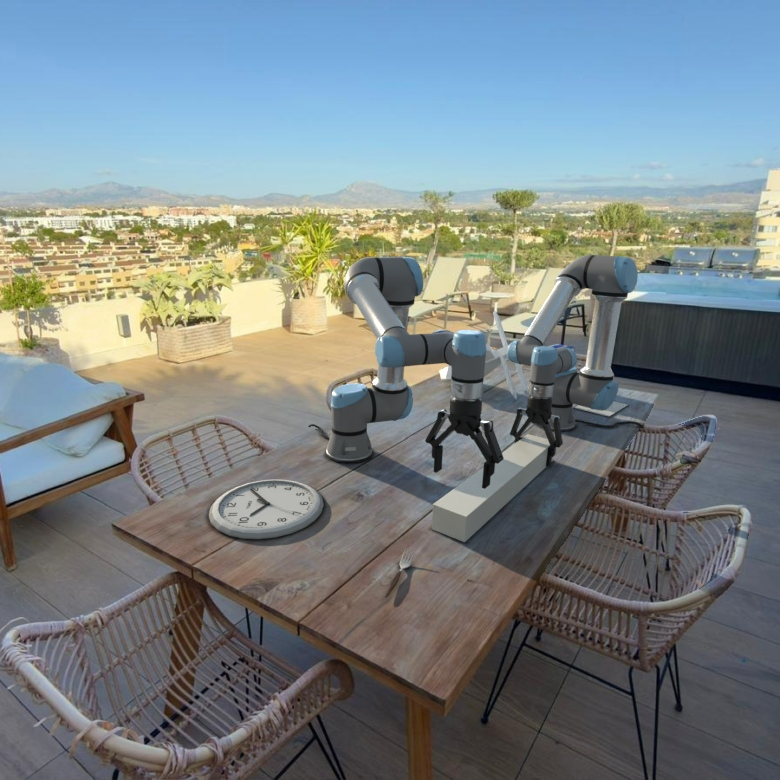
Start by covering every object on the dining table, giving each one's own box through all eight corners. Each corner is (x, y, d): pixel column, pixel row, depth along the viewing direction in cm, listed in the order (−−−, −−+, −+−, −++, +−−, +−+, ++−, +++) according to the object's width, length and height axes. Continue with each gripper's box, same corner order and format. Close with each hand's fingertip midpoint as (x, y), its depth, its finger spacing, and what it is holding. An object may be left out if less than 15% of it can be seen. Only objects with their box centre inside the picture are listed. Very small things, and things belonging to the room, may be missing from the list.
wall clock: (321, 531, 127) (194, 535, 125) (321, 537, 128) (195, 541, 125) (325, 475, 156) (222, 477, 153) (325, 480, 156) (222, 482, 154)
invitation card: (608, 416, 214) (573, 407, 224) (608, 416, 214) (573, 408, 224) (628, 404, 229) (594, 396, 238) (628, 405, 229) (594, 397, 238)
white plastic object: (461, 429, 252) (437, 405, 227) (444, 352, 274) (420, 323, 250) (535, 404, 240) (518, 377, 215) (510, 326, 262) (492, 293, 237)
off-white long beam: (525, 453, 178) (527, 433, 176) (553, 460, 173) (555, 440, 171) (431, 529, 132) (432, 504, 130) (464, 542, 127) (466, 516, 125)
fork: (379, 598, 107) (379, 590, 107) (404, 554, 122) (404, 547, 121) (391, 601, 106) (391, 593, 106) (415, 557, 121) (415, 549, 120)
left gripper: (413, 390, 127) (411, 469, 134) (508, 412, 113) (500, 499, 119) (430, 383, 133) (427, 459, 139) (522, 403, 119) (514, 487, 125)
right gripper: (502, 391, 168) (497, 455, 175) (571, 406, 155) (562, 474, 162) (512, 386, 174) (506, 448, 181) (579, 400, 161) (570, 466, 168)
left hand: (461, 478), depth 129 cm, fingers open, 13 cm apart
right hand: (533, 460), depth 171 cm, fingers closed on off-white long beam, 9 cm apart
